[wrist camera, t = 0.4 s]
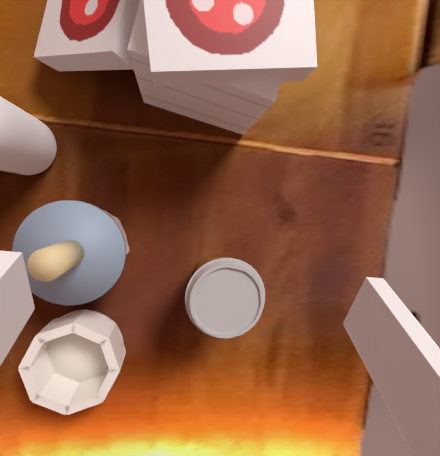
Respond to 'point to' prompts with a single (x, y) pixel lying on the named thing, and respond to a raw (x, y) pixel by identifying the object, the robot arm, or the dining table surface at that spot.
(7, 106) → the milk bottle
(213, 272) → the disposable coffee cup
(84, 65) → the pizza boxes
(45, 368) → the bowl
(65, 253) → the lid
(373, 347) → the robot arm
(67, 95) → the dining table surface
